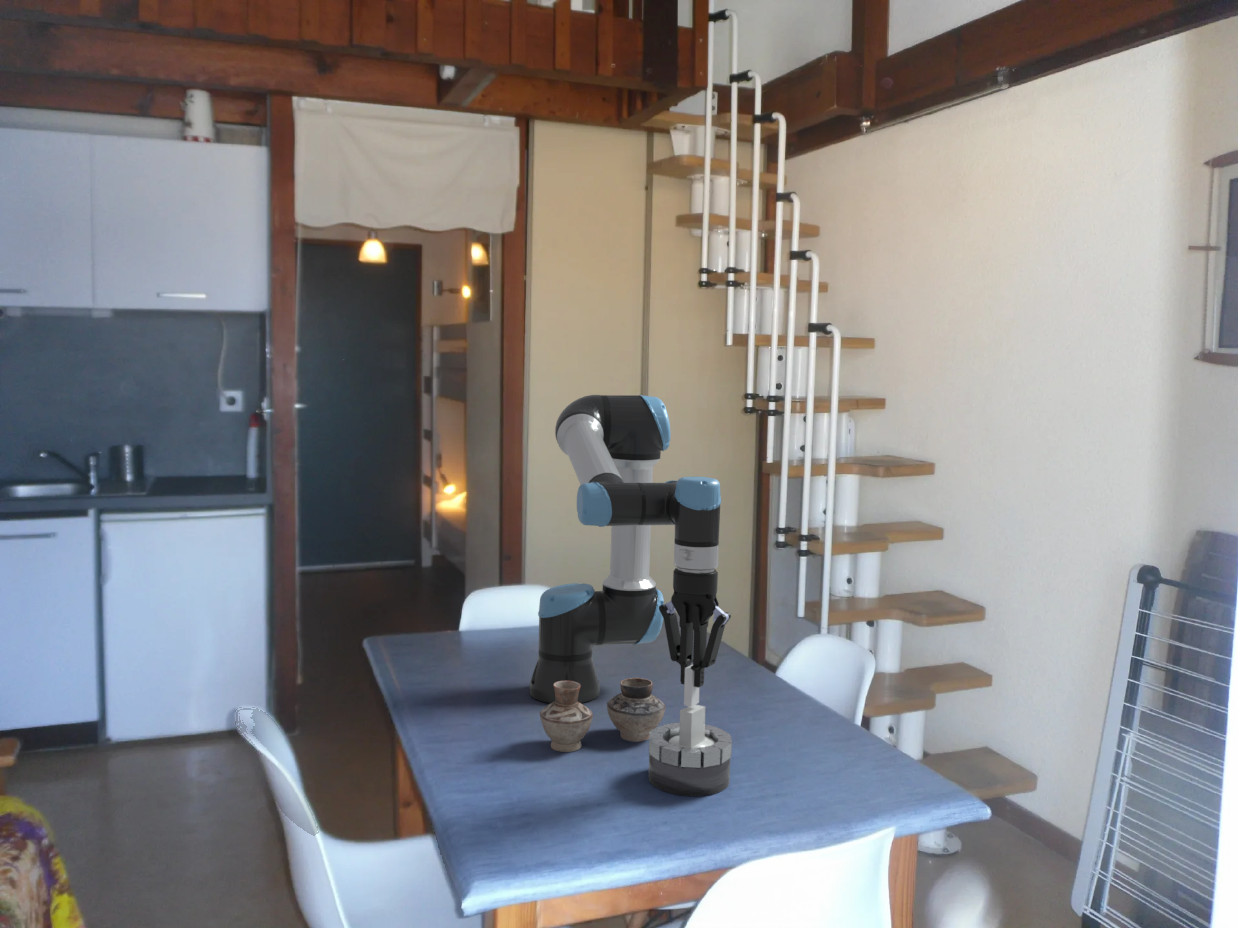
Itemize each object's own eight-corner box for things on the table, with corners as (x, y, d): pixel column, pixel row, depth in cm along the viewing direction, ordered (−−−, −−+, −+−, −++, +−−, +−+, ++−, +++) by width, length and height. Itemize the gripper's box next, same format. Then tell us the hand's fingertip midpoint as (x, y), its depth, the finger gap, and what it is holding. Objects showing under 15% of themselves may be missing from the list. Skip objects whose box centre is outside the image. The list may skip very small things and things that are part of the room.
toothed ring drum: (632, 782, 171) (633, 740, 170) (673, 756, 183) (675, 716, 182) (705, 803, 163) (707, 759, 163) (743, 775, 175) (745, 733, 175)
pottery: (530, 740, 190) (531, 678, 188) (647, 723, 200) (649, 664, 199) (552, 762, 179) (554, 697, 178) (675, 742, 190) (676, 681, 189)
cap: (659, 752, 172) (660, 709, 171) (684, 739, 178) (685, 697, 178) (699, 763, 167) (700, 719, 166) (723, 749, 173) (724, 707, 173)
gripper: (651, 566, 170) (647, 701, 172) (719, 577, 163) (715, 717, 165) (673, 560, 176) (669, 690, 179) (740, 569, 169) (735, 705, 171)
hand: (691, 703), depth 172 cm, fingers closed
